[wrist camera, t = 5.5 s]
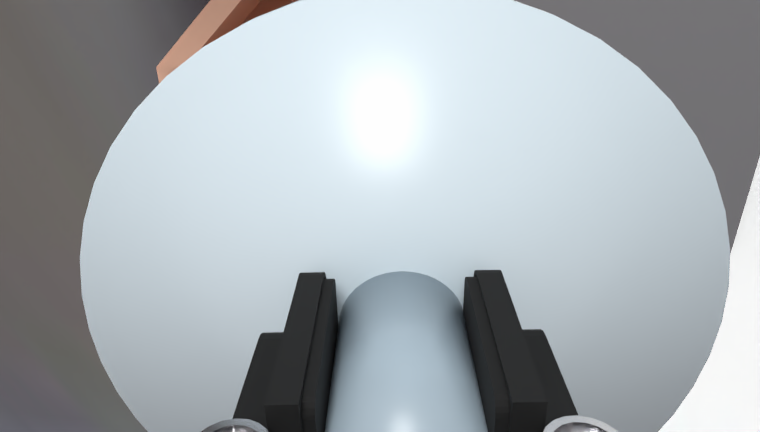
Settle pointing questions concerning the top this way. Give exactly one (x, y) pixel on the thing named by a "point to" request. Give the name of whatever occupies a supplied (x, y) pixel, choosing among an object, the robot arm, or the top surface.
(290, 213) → the lid
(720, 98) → the mat
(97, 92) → the top surface
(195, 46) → the bowl
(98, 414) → the top surface
